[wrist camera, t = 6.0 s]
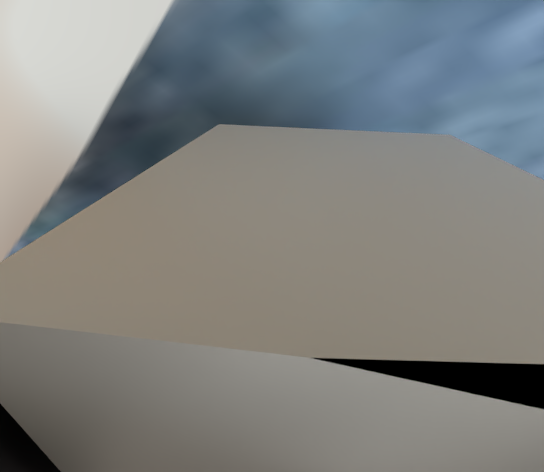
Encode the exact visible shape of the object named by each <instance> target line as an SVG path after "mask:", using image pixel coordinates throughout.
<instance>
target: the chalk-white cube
mask: <svg viewBox="0 0 544 472" xmlns="http://www.w3.org/2000/svg"><path fill="white" fill-rule="evenodd" d="M0 404H1V405H2V406H3V407H4V408H5V409H6V410H7V411H8V413H9V414H10V415H11V416H12V417H13V418H14V419H15V421H16V422H17V423H18V424H19V425H20V426H21V427H22V428H23V430H24V431H25V432H26V433H27V434H28V435H29V436H30V437H31V439H32V440H33V441H34V442H35V443H36V444H37V445H38V446H39V448H40V449H41V450H42V451H43V452H44V453H45V454H46V455H47V457H48V458H49V459H50V460H51V461H52V462H53V463H54V465H55V466H56V467H57V468H58V469H59V470H60V471H61V472H544V180H543V179H541V178H538V177H536V176H534V175H532V174H530V173H528V172H526V171H524V170H522V169H520V168H518V167H516V166H514V165H511V164H509V163H507V162H505V161H503V160H501V159H499V158H497V157H495V156H493V155H491V154H489V153H487V152H484V151H482V150H480V149H478V148H476V147H474V146H472V145H470V144H468V143H466V142H464V141H462V140H460V139H457V138H455V137H453V136H451V135H442V134H420V133H398V132H377V131H355V130H333V129H311V128H290V127H268V126H246V125H224V124H218V125H217V126H215V127H214V128H212V129H210V130H209V131H207V132H206V133H204V134H203V135H201V136H199V137H198V138H196V139H195V140H193V141H191V142H190V143H188V144H187V145H185V146H184V147H182V148H180V149H179V150H177V151H176V152H174V153H172V154H171V155H169V156H168V157H166V158H165V159H163V160H161V161H160V162H158V163H157V164H155V165H153V166H152V167H150V168H149V169H147V170H146V171H144V172H142V173H141V174H139V175H138V176H136V177H134V178H133V179H131V180H130V181H128V182H127V183H125V184H123V185H122V186H120V187H119V188H117V189H115V190H114V191H112V192H111V193H109V194H108V195H106V196H104V197H103V198H101V199H100V200H98V201H96V202H95V203H93V204H92V205H90V206H89V207H87V208H85V209H84V210H82V211H81V212H79V213H77V214H76V215H74V216H73V217H71V218H70V219H68V220H66V221H65V222H63V223H62V224H60V225H58V226H57V227H55V228H54V229H52V230H51V231H49V232H47V233H46V234H44V235H43V236H41V237H39V238H38V239H36V240H35V241H33V242H32V243H30V244H28V245H27V246H25V247H24V248H22V249H20V250H19V251H17V252H16V253H14V254H13V255H11V256H9V257H8V258H6V259H5V260H3V261H2V262H0Z"/></svg>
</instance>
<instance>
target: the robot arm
mask: <svg viewBox="0 0 544 472" xmlns="http://www.w3.org/2000/svg"><path fill="white" fill-rule="evenodd" d="M0 472H61V471H60V470H59V469H58V468H57V467H56V466H55V465H54V463H53V462H52V461H51V460H50V459H49V458H48V457H47V455H46V454H45V453H44V452H43V451H42V450H41V449H40V448H39V446H38V445H37V444H36V443H35V442H34V441H33V440H32V439H31V437H30V436H29V435H28V434H27V433H26V432H25V431H24V430H23V428H22V427H21V426H20V425H19V424H18V423H17V422H16V421H15V419H14V418H13V417H12V416H11V415H10V414H9V413H8V411H7V410H6V409H5V408H4V407H3V406H2V405H1V404H0Z"/></svg>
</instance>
